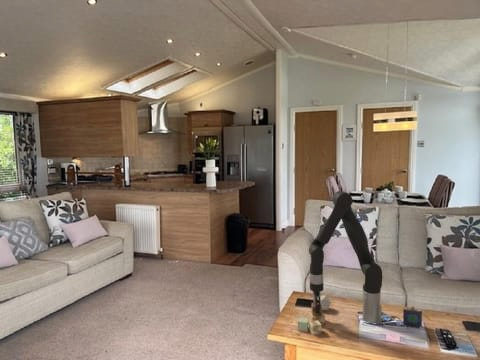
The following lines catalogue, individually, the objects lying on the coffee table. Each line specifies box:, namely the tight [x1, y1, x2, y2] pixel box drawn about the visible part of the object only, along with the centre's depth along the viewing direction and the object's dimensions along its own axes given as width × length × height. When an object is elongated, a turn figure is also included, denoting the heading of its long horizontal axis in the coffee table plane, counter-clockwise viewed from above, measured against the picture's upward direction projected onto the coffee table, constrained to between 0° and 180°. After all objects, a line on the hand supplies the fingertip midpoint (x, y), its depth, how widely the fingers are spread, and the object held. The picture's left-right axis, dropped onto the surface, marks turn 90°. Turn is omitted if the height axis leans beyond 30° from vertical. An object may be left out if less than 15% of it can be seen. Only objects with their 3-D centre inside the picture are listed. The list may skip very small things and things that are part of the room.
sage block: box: [297, 317, 309, 333], centre depth 194 cm, size 5×5×5 cm
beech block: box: [308, 320, 322, 336], centre depth 191 cm, size 5×5×5 cm
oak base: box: [308, 310, 326, 326], centre depth 201 cm, size 7×7×5 cm
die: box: [320, 295, 332, 312], centre depth 216 cm, size 8×9×10 cm
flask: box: [402, 305, 423, 328], centre depth 194 cm, size 9×3×11 cm, turn 74°
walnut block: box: [311, 302, 323, 316], centre depth 201 cm, size 5×5×5 cm
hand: (316, 309), depth 201 cm, fingers open, 8 cm apart
